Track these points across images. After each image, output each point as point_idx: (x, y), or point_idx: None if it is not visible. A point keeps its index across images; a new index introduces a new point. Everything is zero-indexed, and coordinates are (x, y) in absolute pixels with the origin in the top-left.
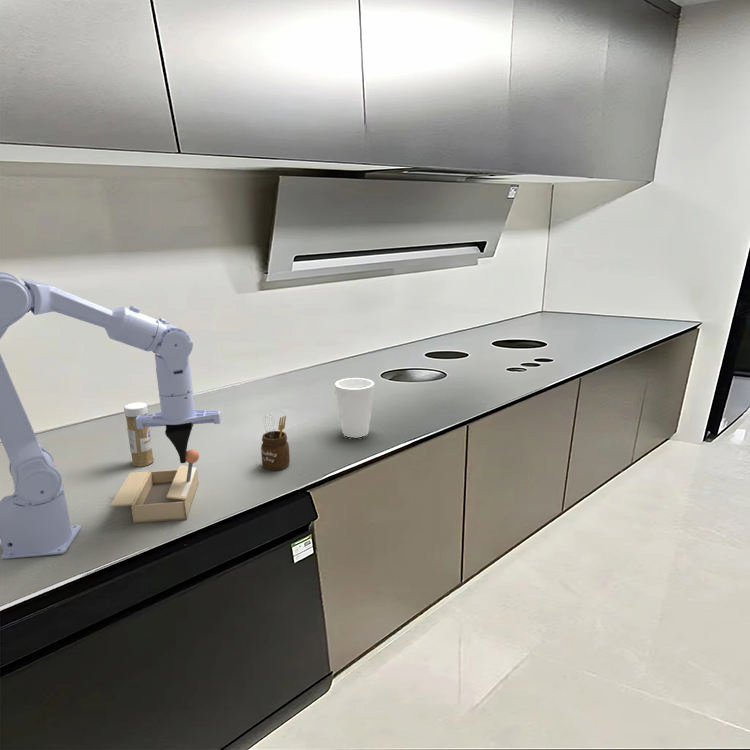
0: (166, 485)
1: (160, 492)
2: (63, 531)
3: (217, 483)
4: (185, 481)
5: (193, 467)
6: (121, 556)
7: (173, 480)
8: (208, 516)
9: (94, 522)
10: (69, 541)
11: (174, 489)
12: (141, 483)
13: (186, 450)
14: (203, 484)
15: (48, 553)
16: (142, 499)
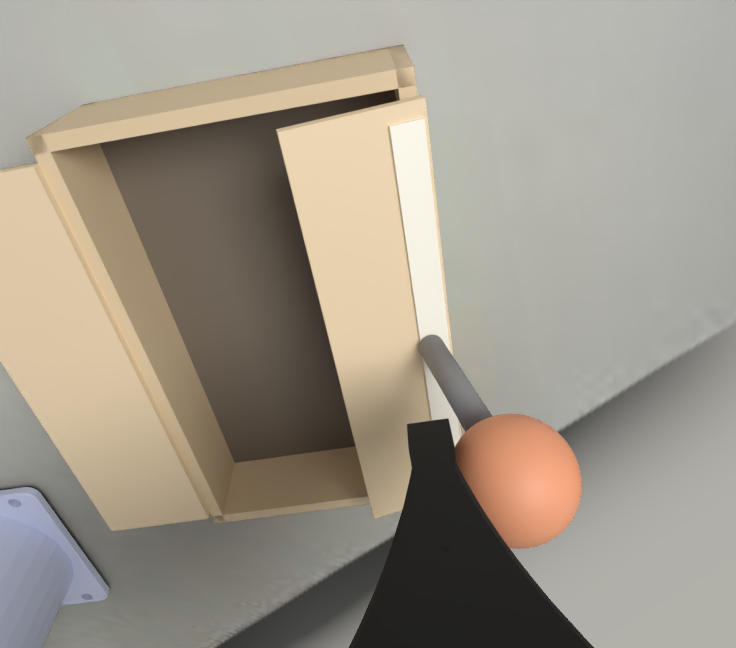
0: (209, 157)
1: (220, 249)
2: (54, 616)
3: (545, 42)
4: (413, 349)
5: (402, 125)
6: (301, 588)
7: (339, 375)
8: (542, 401)
9: (53, 448)
10: (80, 566)
11: (386, 454)
12: (114, 345)
13: (458, 468)
14: (444, 60)
15: (65, 603)
16: (185, 376)
